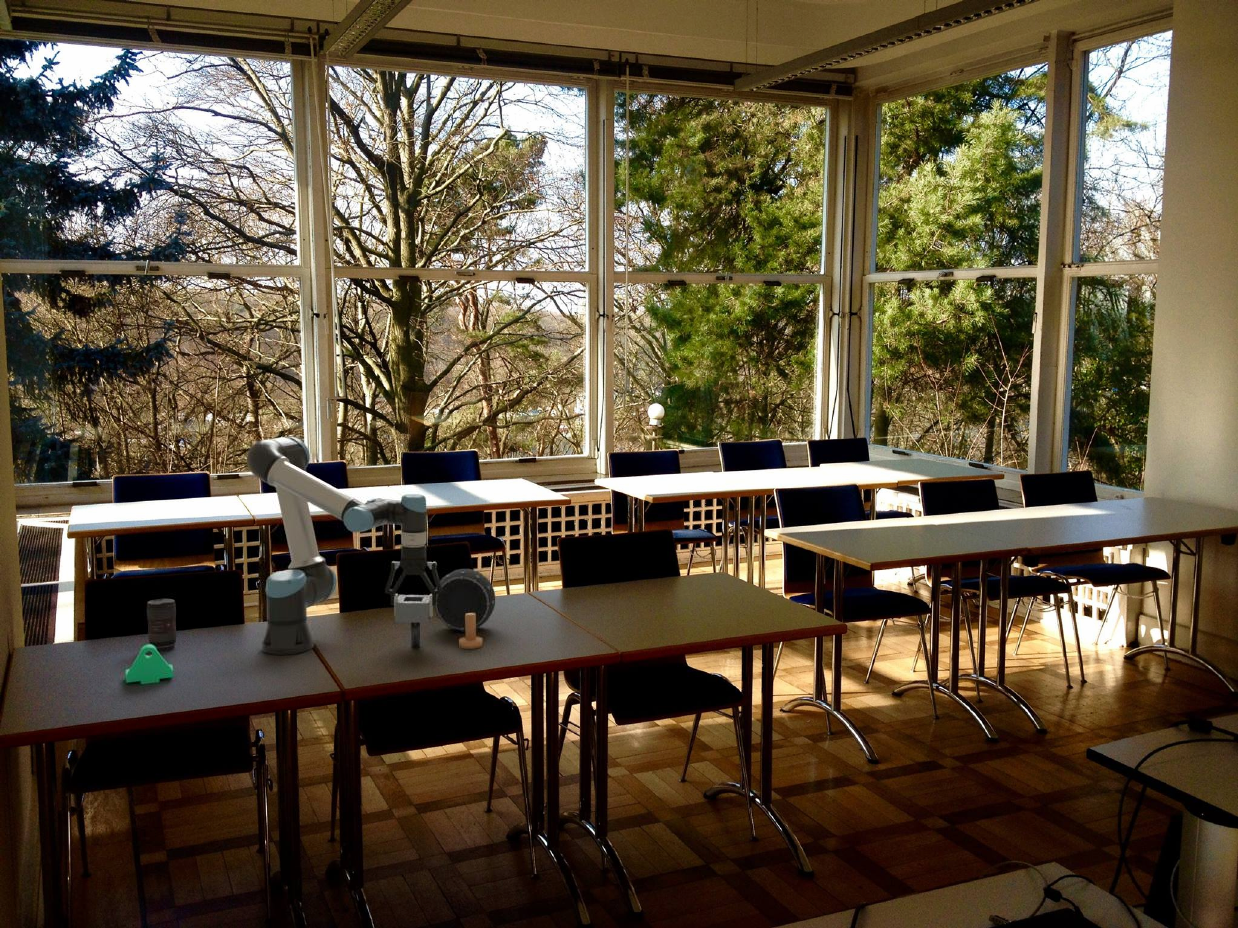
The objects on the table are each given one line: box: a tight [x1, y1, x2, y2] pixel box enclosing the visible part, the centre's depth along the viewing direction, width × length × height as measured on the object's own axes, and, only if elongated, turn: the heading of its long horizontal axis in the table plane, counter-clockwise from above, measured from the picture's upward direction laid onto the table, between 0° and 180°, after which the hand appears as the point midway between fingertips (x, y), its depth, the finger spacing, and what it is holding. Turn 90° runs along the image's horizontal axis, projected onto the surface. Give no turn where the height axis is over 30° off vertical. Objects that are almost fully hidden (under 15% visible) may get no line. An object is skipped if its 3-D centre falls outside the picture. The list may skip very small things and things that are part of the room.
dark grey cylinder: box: [146, 598, 177, 653], centre depth 326 cm, size 8×8×15 cm
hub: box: [458, 613, 483, 650], centre depth 331 cm, size 7×7×10 cm
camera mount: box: [125, 643, 174, 685], centre depth 297 cm, size 12×8×10 cm, turn 115°
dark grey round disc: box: [433, 568, 496, 633], centre depth 349 cm, size 11×20×20 cm, turn 89°
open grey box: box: [394, 594, 431, 623], centre depth 329 cm, size 10×10×6 cm
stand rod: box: [410, 622, 421, 649], centre depth 329 cm, size 3×3×8 cm
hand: (413, 615), depth 329 cm, fingers closed on open grey box, 10 cm apart
